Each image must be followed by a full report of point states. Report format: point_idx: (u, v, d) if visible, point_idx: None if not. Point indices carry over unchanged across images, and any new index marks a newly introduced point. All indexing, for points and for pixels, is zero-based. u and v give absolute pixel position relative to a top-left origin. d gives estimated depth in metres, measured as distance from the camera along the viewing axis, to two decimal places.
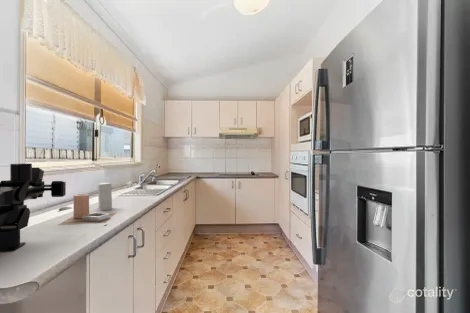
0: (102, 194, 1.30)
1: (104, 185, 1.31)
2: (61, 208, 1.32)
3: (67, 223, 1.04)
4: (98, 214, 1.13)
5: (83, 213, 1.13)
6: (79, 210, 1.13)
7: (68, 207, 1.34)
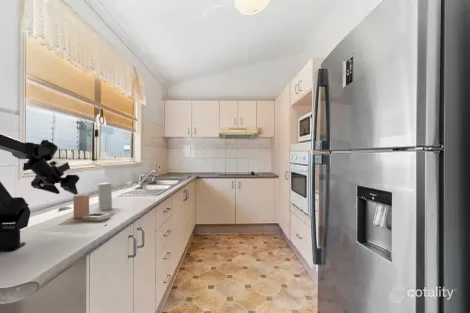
0: (102, 194, 1.30)
1: (104, 185, 1.31)
2: (61, 208, 1.31)
3: (67, 223, 1.04)
4: (98, 214, 1.13)
5: (83, 213, 1.13)
6: (79, 210, 1.13)
7: (68, 207, 1.33)
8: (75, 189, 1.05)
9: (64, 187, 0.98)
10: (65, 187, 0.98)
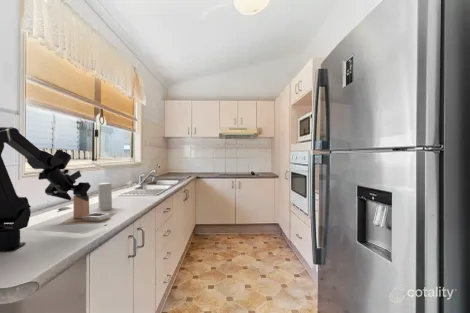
0: (102, 194, 1.30)
1: (104, 185, 1.31)
2: (60, 208, 1.31)
3: (67, 223, 1.04)
4: (98, 214, 1.13)
5: (83, 213, 1.13)
6: (79, 210, 1.13)
7: (67, 207, 1.33)
8: (86, 196, 1.11)
9: (77, 194, 1.04)
10: (77, 194, 1.04)
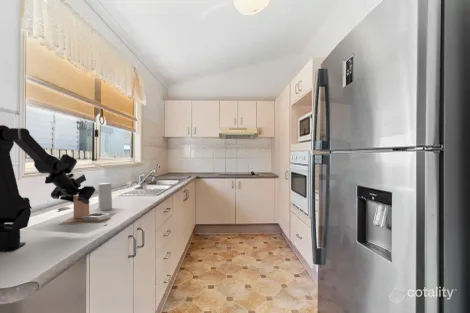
0: (102, 194, 1.30)
1: (104, 185, 1.31)
2: (60, 208, 1.31)
3: (67, 223, 1.04)
4: (98, 214, 1.13)
5: (83, 213, 1.13)
6: (79, 210, 1.13)
7: (67, 207, 1.33)
8: None
9: (82, 198, 1.06)
10: (83, 198, 1.06)
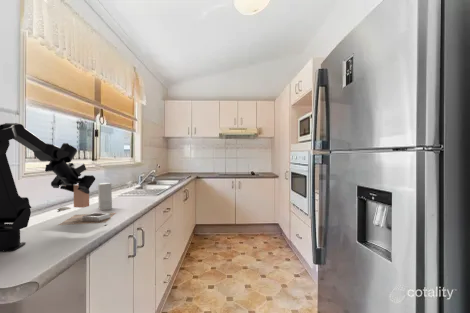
0: (102, 194, 1.30)
1: (104, 185, 1.31)
2: (60, 208, 1.31)
3: (67, 223, 1.04)
4: (98, 214, 1.13)
5: (83, 202, 1.13)
6: (79, 199, 1.13)
7: (67, 207, 1.33)
8: (87, 189, 1.14)
9: (82, 187, 1.07)
10: (83, 187, 1.06)
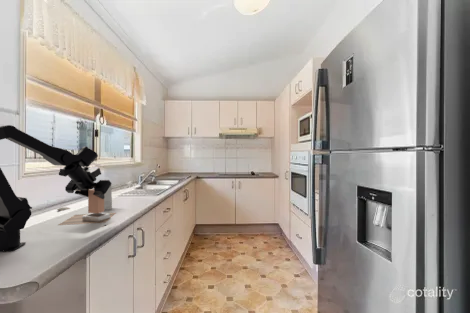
0: None
1: None
2: (59, 209, 1.30)
3: (67, 223, 1.04)
4: (98, 214, 1.13)
5: (98, 208, 1.08)
6: (94, 204, 1.09)
7: (66, 208, 1.32)
8: (102, 193, 1.09)
9: (98, 192, 1.02)
10: (99, 192, 1.02)
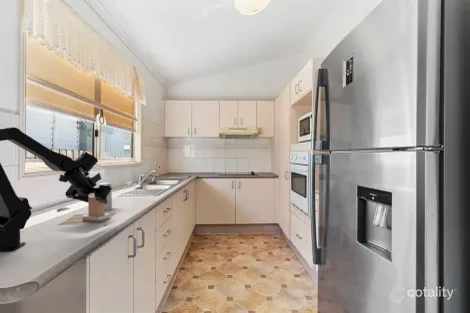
0: None
1: None
2: (59, 209, 1.30)
3: (67, 223, 1.04)
4: None
5: (98, 215, 1.08)
6: (94, 212, 1.09)
7: (66, 208, 1.32)
8: (105, 199, 1.09)
9: (98, 197, 1.02)
10: (99, 197, 1.02)
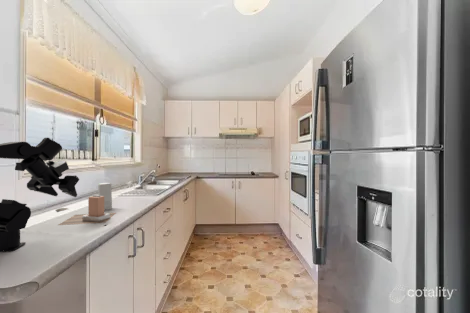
0: (102, 194, 1.30)
1: (104, 185, 1.31)
2: (58, 209, 1.29)
3: (67, 223, 1.04)
4: None
5: (98, 215, 1.08)
6: (94, 212, 1.09)
7: (65, 208, 1.31)
8: (74, 191, 0.97)
9: (62, 189, 0.91)
10: (63, 189, 0.91)
